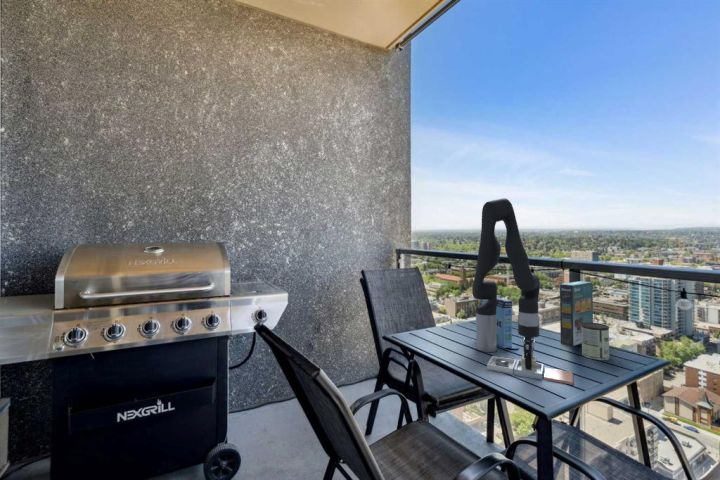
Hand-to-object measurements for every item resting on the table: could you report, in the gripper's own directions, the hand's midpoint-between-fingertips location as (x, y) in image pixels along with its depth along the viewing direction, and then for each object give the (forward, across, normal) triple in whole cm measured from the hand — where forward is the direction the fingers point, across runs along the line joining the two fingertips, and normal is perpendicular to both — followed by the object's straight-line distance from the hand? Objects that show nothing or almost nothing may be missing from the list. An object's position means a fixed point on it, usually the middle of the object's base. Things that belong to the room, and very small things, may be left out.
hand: (529, 365), depth 133 cm
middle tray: (+2, 0, 0) cm, 2 cm away
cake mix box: (+3, -59, +18) cm, 62 cm away
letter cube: (+2, 0, 0) cm, 2 cm away
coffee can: (+3, -35, +24) cm, 43 cm away
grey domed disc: (+2, 0, -10) cm, 10 cm away
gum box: (+3, -36, -18) cm, 40 cm away
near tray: (+2, 0, -10) cm, 10 cm away
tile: (+2, 0, +10) cm, 10 cm away
